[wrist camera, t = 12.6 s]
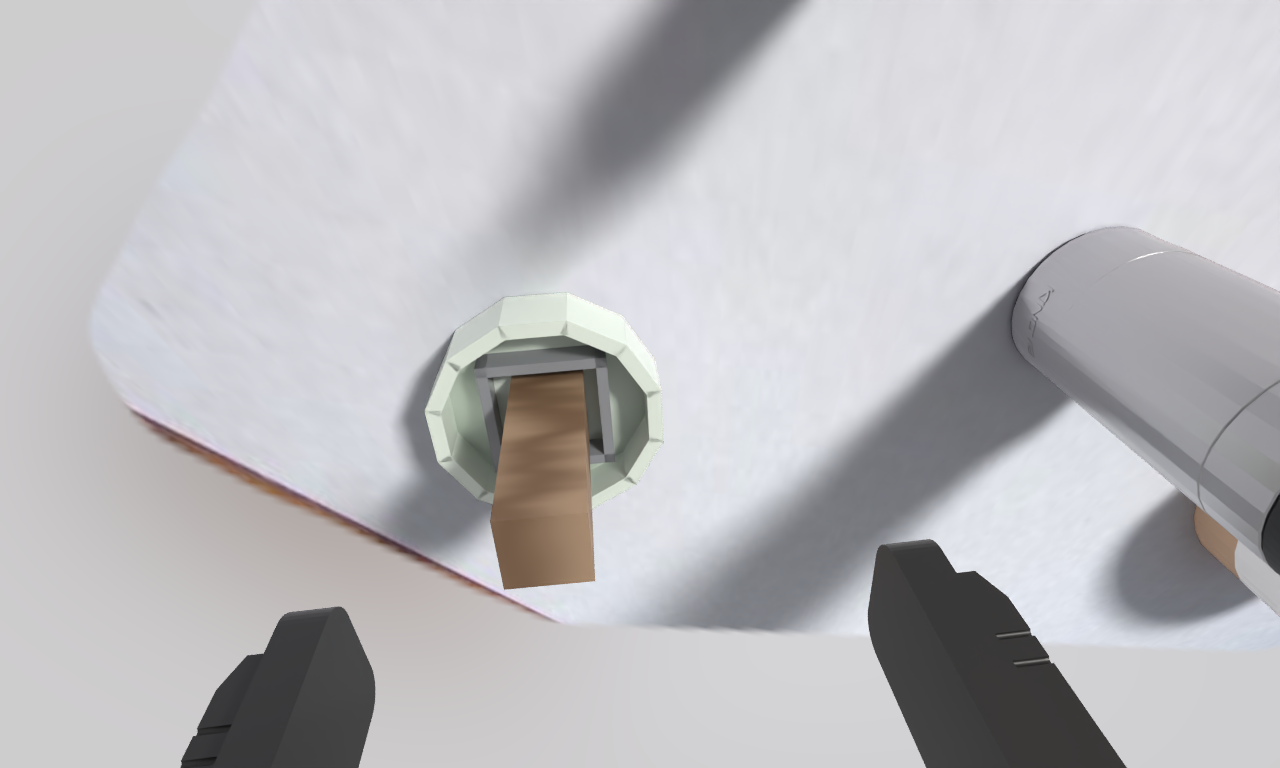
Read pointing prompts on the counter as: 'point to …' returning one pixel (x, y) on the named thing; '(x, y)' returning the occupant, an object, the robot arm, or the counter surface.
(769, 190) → the counter surface
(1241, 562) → the bowl
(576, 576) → the brown wooden block
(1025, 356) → the robot arm
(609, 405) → the pale green faceted dish
